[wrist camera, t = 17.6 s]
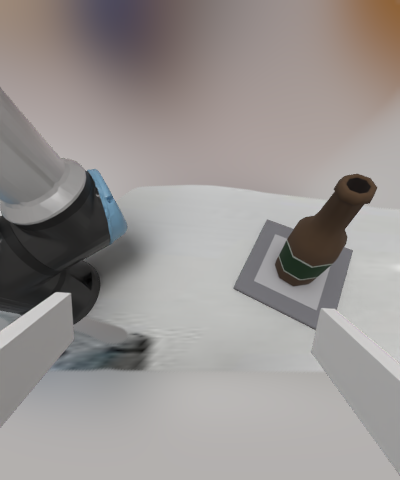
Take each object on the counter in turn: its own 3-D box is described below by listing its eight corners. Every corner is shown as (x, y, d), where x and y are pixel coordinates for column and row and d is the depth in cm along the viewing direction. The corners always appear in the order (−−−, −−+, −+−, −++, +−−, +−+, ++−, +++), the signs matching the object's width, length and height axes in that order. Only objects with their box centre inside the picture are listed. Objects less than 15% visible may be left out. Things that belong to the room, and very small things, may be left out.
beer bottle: (323, 274, 41) (424, 191, 20) (292, 295, 40) (363, 230, 19) (295, 245, 44) (356, 147, 23) (265, 263, 43) (301, 178, 22)
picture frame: (233, 288, 43) (233, 287, 42) (266, 221, 49) (267, 219, 48) (327, 335, 37) (329, 335, 36) (350, 252, 43) (353, 250, 42)
